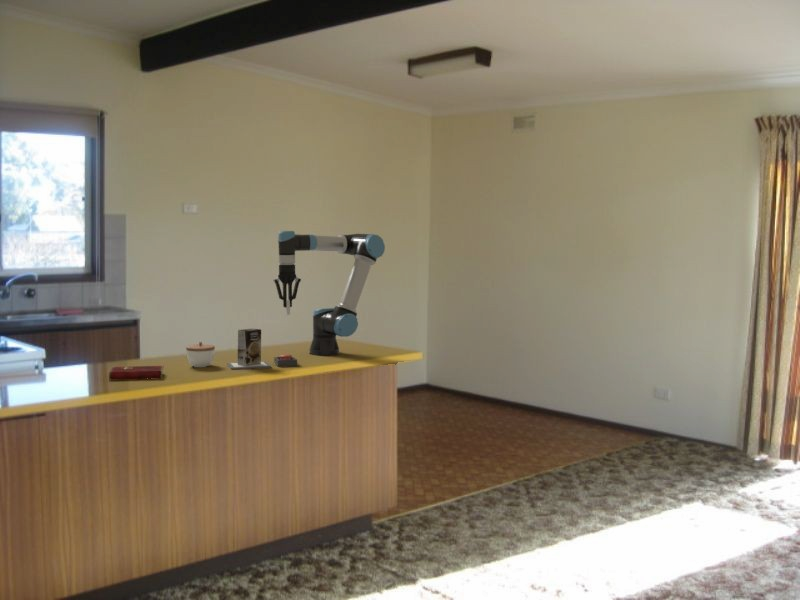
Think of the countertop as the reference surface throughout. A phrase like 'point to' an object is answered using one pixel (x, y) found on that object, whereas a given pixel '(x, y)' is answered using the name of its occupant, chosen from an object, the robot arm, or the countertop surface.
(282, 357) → the button
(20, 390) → the countertop surface
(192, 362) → the lidded bowl
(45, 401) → the countertop surface
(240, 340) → the coffee box
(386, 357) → the countertop surface
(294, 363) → the button housing
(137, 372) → the hardcover book
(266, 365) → the board
